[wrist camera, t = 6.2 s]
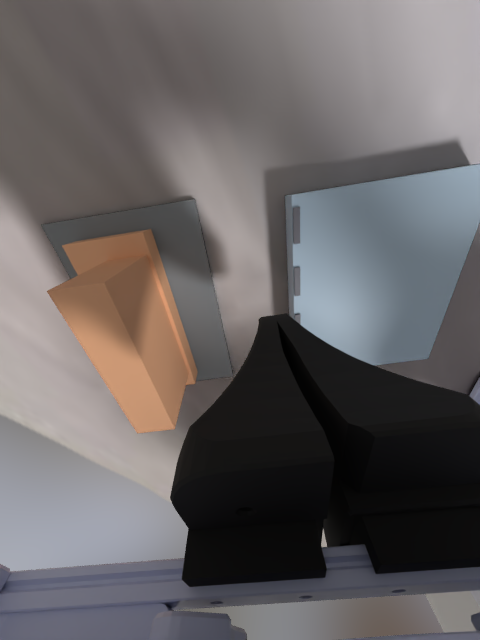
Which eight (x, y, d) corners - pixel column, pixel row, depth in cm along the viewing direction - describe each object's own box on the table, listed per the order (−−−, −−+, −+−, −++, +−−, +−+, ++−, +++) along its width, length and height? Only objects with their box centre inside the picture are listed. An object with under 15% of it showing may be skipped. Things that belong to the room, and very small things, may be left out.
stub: (151, 228, 11) (95, 250, 7) (197, 371, 16) (183, 439, 12) (77, 240, 11) (-26, 270, 7) (145, 378, 16) (112, 447, 12)
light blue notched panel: (471, 164, 10) (505, 160, 9) (413, 346, 16) (429, 359, 15) (284, 195, 11) (292, 195, 10) (290, 362, 16) (295, 376, 15)
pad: (194, 198, 11) (194, 199, 11) (233, 374, 17) (232, 376, 17) (43, 224, 11) (40, 224, 11) (133, 387, 17) (132, 388, 17)
